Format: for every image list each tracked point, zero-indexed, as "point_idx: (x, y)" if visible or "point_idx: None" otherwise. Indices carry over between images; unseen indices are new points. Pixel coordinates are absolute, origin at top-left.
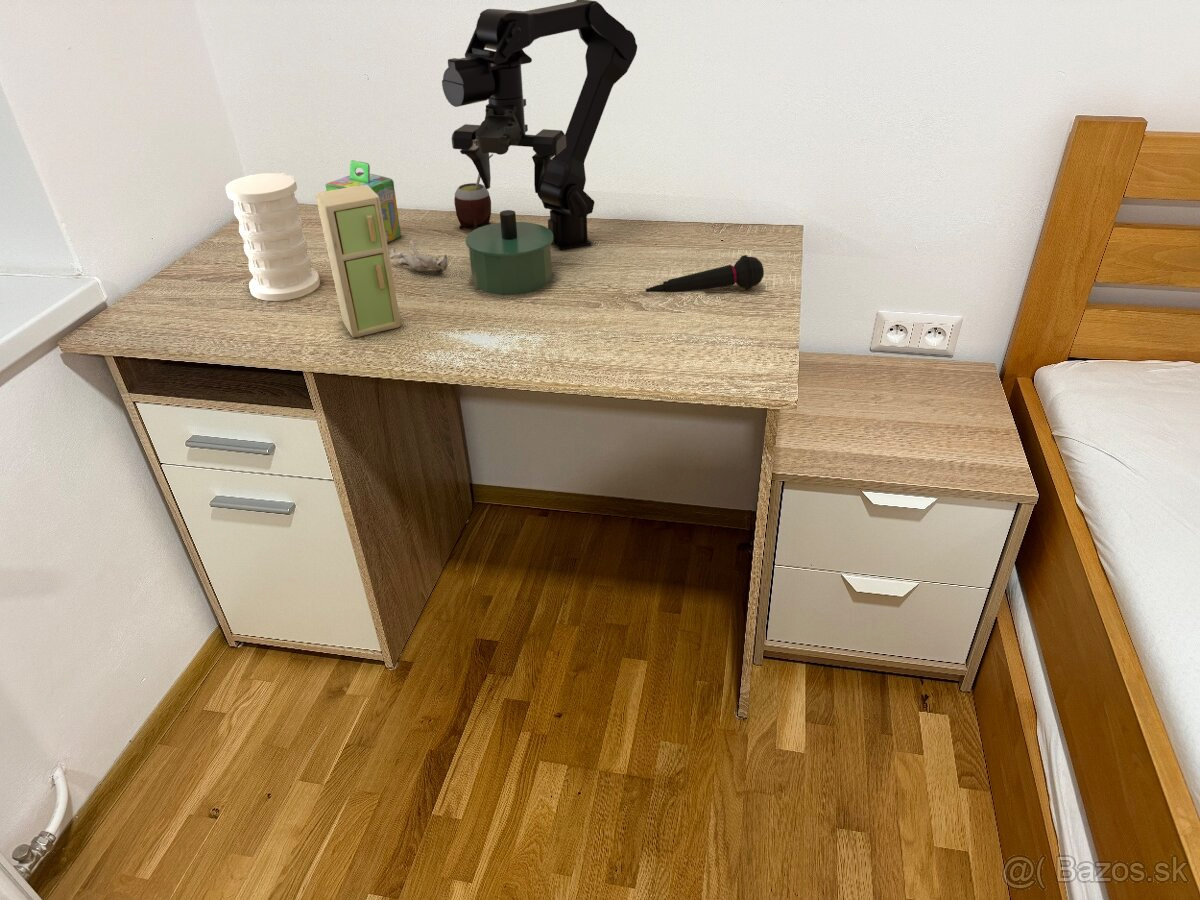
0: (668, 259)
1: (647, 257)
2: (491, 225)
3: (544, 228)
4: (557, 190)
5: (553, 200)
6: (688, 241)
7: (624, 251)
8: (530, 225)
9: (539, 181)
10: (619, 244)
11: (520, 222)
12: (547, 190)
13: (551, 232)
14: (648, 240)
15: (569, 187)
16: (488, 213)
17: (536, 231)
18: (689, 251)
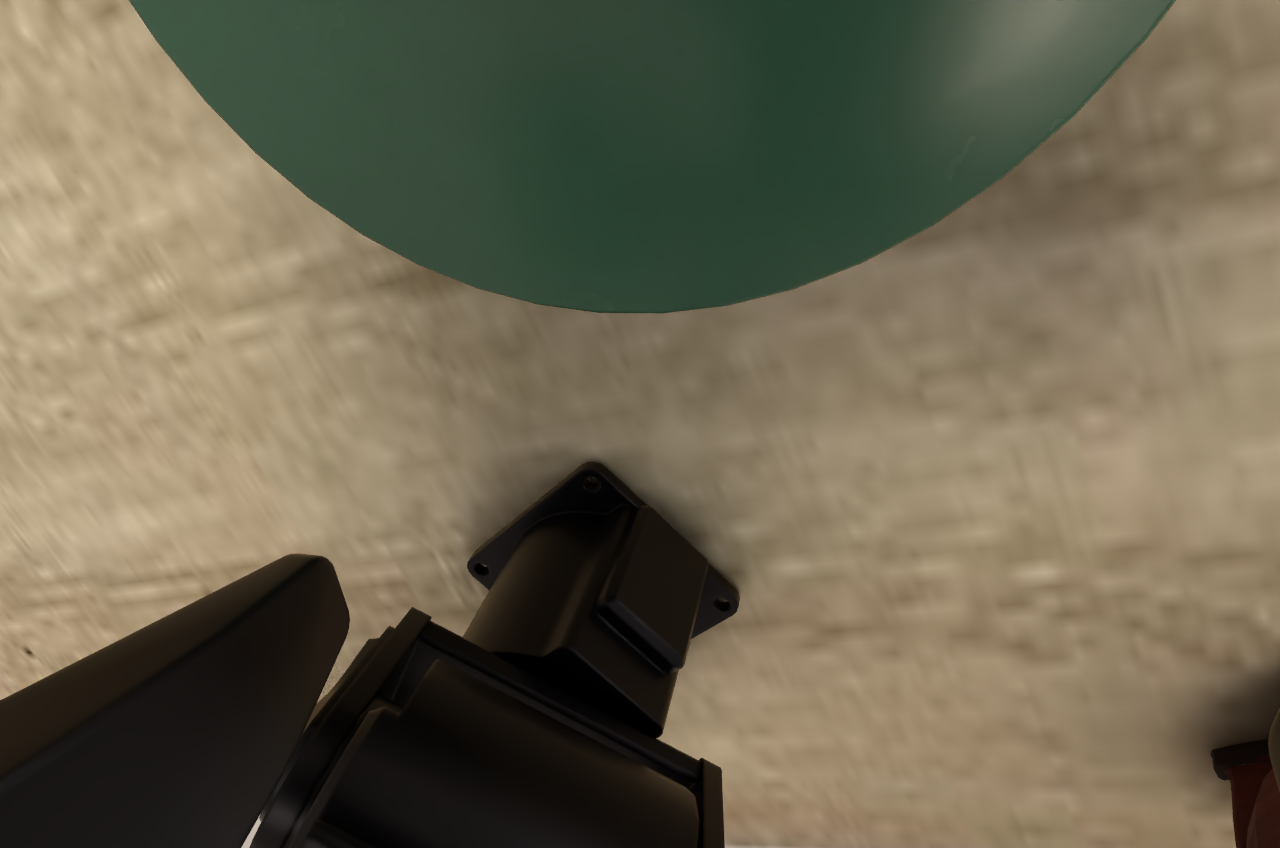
0: (55, 446)
1: (145, 452)
2: (1032, 74)
3: (326, 173)
4: (382, 791)
5: (493, 719)
6: (121, 636)
7: (281, 504)
8: (514, 223)
9: (61, 674)
10: (351, 579)
11: (669, 288)
12: (534, 826)
13: (184, 64)
14: None
15: (276, 825)
16: (1253, 820)
17: (343, 38)
18: (48, 543)
